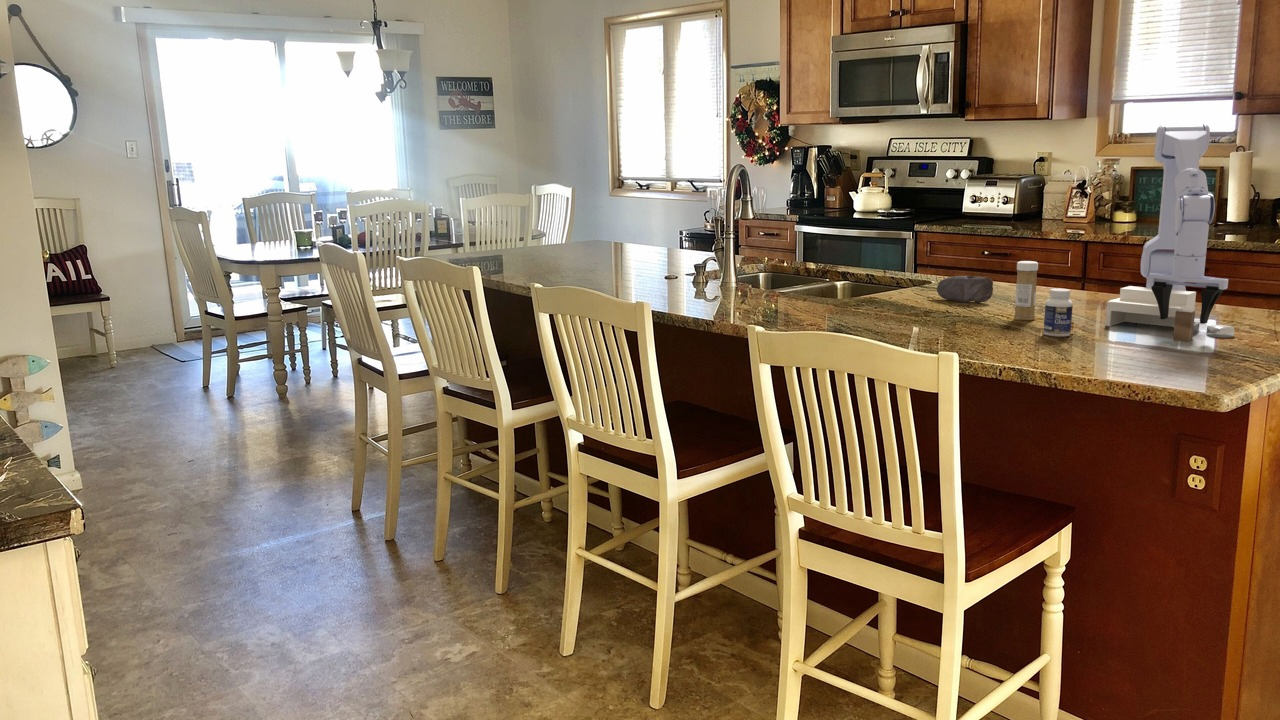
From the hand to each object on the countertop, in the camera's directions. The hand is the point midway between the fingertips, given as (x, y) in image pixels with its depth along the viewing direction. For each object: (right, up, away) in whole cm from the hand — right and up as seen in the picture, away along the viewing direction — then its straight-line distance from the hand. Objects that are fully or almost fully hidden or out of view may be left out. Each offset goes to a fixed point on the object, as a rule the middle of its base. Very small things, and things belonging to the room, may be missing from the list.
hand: (1183, 320), depth 208 cm
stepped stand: (0, -1, +14) cm, 14 cm away
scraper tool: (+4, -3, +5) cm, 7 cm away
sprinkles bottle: (-23, +1, +27) cm, 35 cm away
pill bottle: (-23, -3, +8) cm, 24 cm away
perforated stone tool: (-28, +7, +54) cm, 61 cm away
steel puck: (+10, -3, +4) cm, 11 cm away
